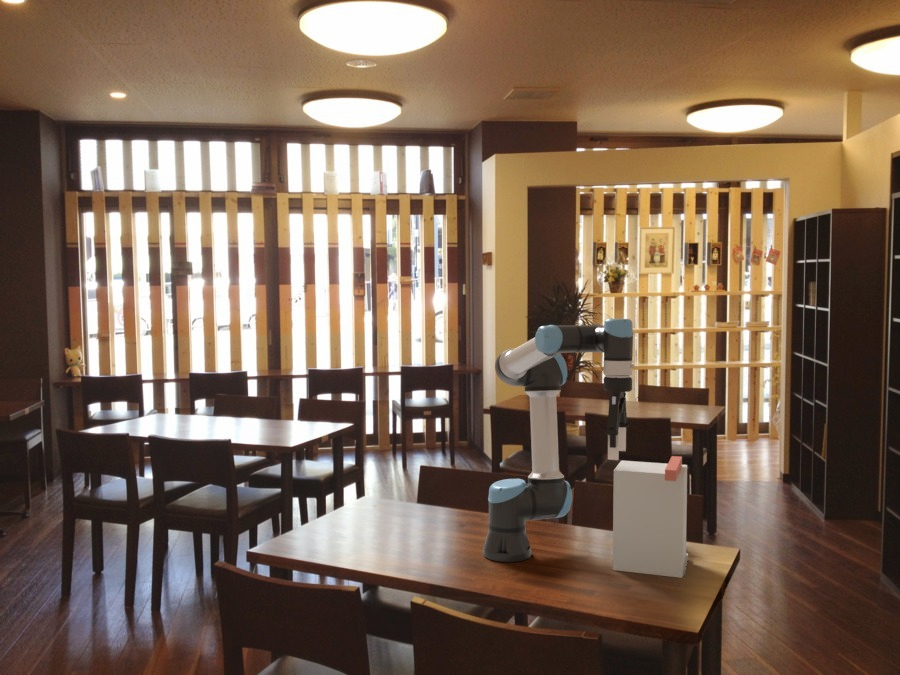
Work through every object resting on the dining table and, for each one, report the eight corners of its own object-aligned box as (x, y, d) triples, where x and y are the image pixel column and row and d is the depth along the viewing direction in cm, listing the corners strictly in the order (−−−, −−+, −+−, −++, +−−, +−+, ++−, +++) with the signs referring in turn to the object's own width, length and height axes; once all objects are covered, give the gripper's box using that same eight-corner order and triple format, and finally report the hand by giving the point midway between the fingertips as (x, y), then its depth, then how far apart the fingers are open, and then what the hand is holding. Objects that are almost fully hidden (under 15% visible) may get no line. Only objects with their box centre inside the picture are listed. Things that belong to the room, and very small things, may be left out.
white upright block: (684, 578, 232) (685, 475, 231) (610, 569, 239) (611, 470, 238) (688, 559, 249) (689, 463, 248) (619, 552, 256) (620, 459, 255)
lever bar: (675, 481, 223) (676, 470, 223) (664, 480, 224) (664, 469, 224) (681, 466, 244) (682, 456, 243) (671, 465, 245) (671, 456, 245)
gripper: (625, 380, 201) (624, 464, 202) (637, 373, 225) (637, 448, 226) (595, 379, 204) (595, 462, 205) (611, 372, 227) (610, 446, 228)
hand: (617, 455), depth 215 cm, fingers open, 13 cm apart
